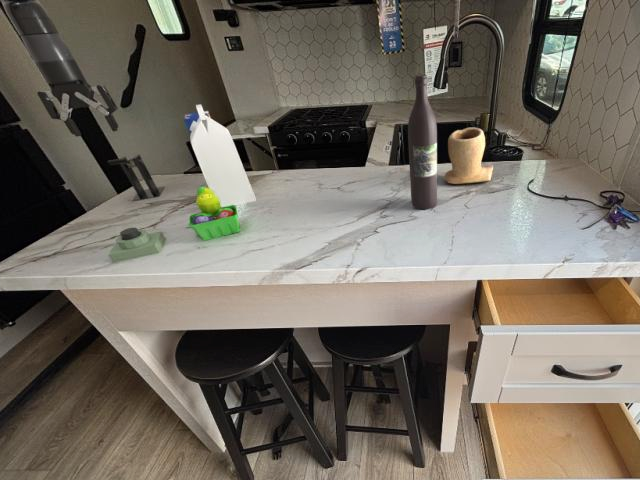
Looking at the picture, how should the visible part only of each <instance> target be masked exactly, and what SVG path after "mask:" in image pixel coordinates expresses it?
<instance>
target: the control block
mask: <svg viewBox="0 0 640 480" xmlns="http://www.w3.org/2000/svg"><path fill="white" fill-rule="evenodd" d="M138 231H139V232H140V234H141V235H140V236H138V237H136V238H134V239H130V240H124V239H123V238H122V236H121V235H119V236H118V237H117V238H116V239H115V243H114V245H113V246H112V248H111V249H110V251H109V253H108V254H107V256H108V257H109V259H110V260H111V261H112V263H118V262H119V263H120V262H123V261H128V260H132V259H133V260H134V259H137V258H142V257H147V256H152V255H156V254H160V253H161V251H162V249H163V245H164V243H165V242H166V241H165V240H166V237H165V235H164V233H163V232H162V231H161V230H160V231H156V232H150V233H149V232H148V231H147V230H145V229H138Z"/></svg>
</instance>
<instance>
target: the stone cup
mask: <svg viewBox="0 0 640 480" xmlns="http://www.w3.org/2000/svg"><path fill="white" fill-rule="evenodd" d="M485 147H486V137H485V132H484V130H483V129H481V128H479V127H466V128H463V129H457V130H454V131H453V132H452V133H451V134H450V135H449V137H448V140H447V151H448V157H449V160H450V163H451V169H450V170H448V171H446V172H445V173H444V180H445V182H447V183H448V184H452V185H453V184H454V185H459V184H461V185H462V184H473V183H482V182H490V181H491V179H492V176H493V170H494V166H493V165H488V166H487V165H486V166H485V165H484V166H482V161H483V156H484V152H485Z"/></svg>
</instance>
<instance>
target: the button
mask: <svg viewBox="0 0 640 480" xmlns="http://www.w3.org/2000/svg"><path fill="white" fill-rule="evenodd" d="M138 230H139V229H138V228H137V227H128V228H125V229H123V230H121V231H120V232H119V236H122V238H123V239H124V240H130V239H134V238H136V237H138V236H140V235H141V234H140V232H139V231H138Z"/></svg>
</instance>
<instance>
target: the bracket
mask: <svg viewBox="0 0 640 480" xmlns="http://www.w3.org/2000/svg"><path fill="white" fill-rule="evenodd" d="M122 158H126V159H127V157H126V156H121V157H120V159H122ZM132 159H133V160H134V162H135V164H136V166H137V167H136V168H137V170H138V171H139V173H140V175H141V177H142V178H143V180H144V182H145V185H146V186H147V188H146V189H144V187H143V185H142V184H141V182H140V180H139V179H138V176H137V174H136V173H135V171H134V168H128V166H127V165H124V164H119V166H120V167H121V168H122V171H123V172H124V174H125V175H126V177H127V180H128V181H129V182H130V184H131V186H132V187H133V189H134V191H135V193H136V194H135V196H134V197H133V198H132V200H131V202H138V201H143V200H148V199H155V198H159V197H160V196H161V194H162V193H163V191H164V189H165V186H157V185H156V183H155V180H153V177H152V176H151V174H150V172H149V170H148V168H147V166H146V164H145V162H144V161H143V159H142V157H141V154H135V155H134V156H133V157H132Z"/></svg>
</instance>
